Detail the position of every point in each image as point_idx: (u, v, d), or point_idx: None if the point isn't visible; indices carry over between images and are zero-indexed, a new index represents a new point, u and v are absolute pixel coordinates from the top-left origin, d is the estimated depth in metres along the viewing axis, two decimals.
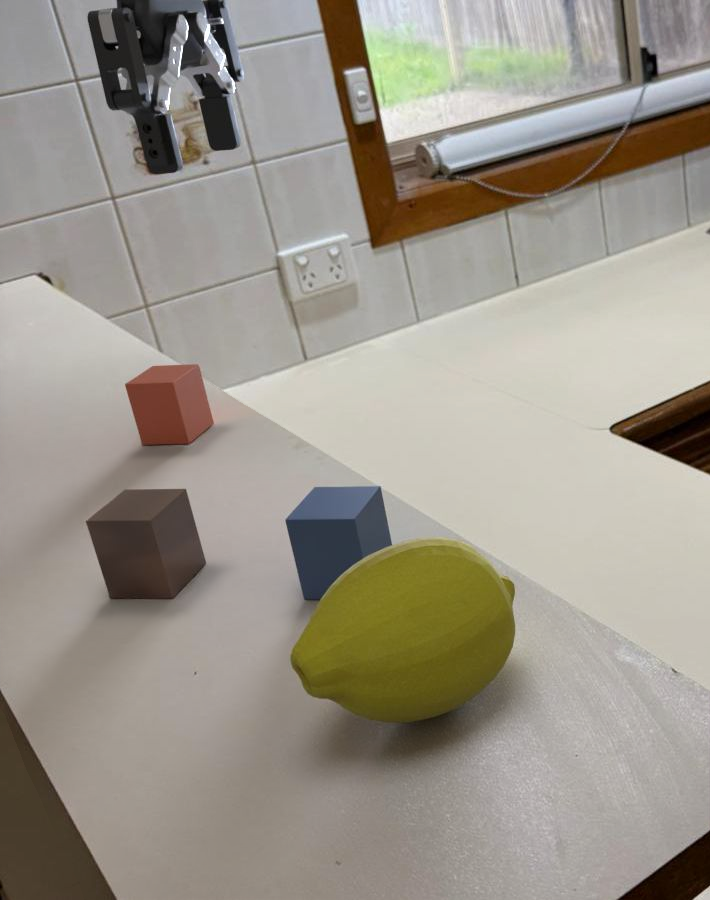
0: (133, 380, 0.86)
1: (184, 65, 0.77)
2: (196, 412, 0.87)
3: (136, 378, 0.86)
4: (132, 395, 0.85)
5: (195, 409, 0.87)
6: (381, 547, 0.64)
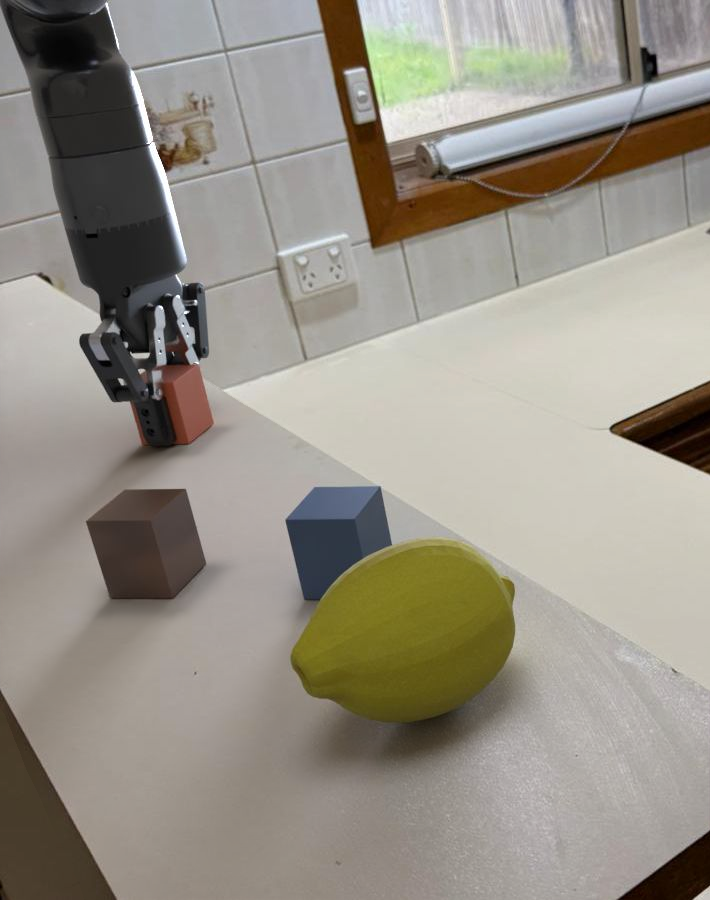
0: None
1: None
2: (196, 412, 0.87)
3: None
4: None
5: (195, 409, 0.87)
6: (381, 547, 0.64)
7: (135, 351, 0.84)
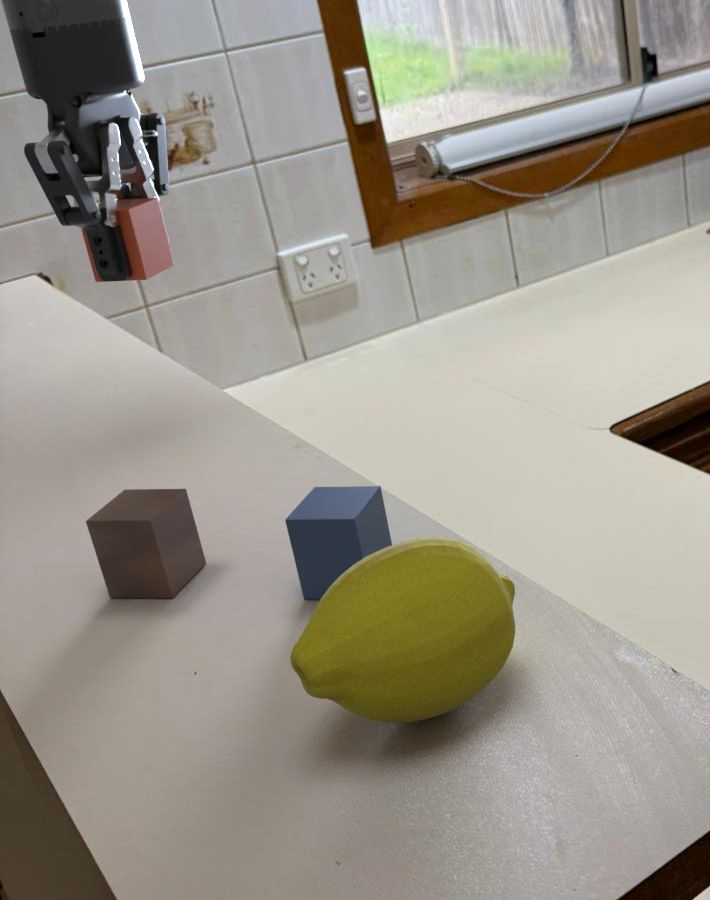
0: None
1: None
2: (154, 248, 0.81)
3: None
4: None
5: (154, 244, 0.81)
6: (381, 547, 0.64)
7: (87, 173, 0.77)
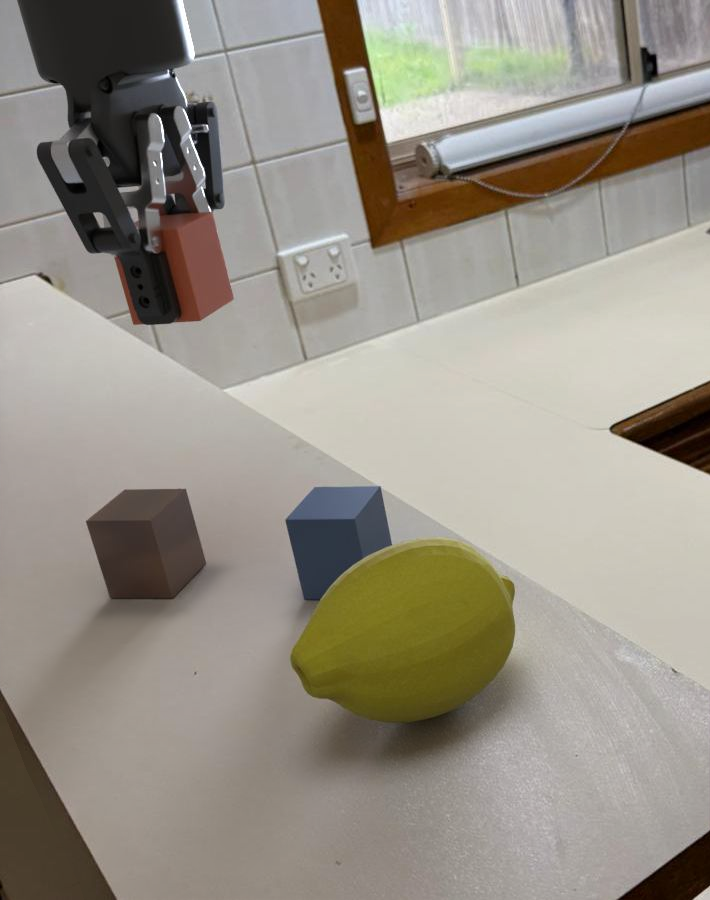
0: None
1: None
2: (209, 279, 0.62)
3: None
4: None
5: (209, 274, 0.62)
6: (381, 547, 0.64)
7: (121, 182, 0.58)
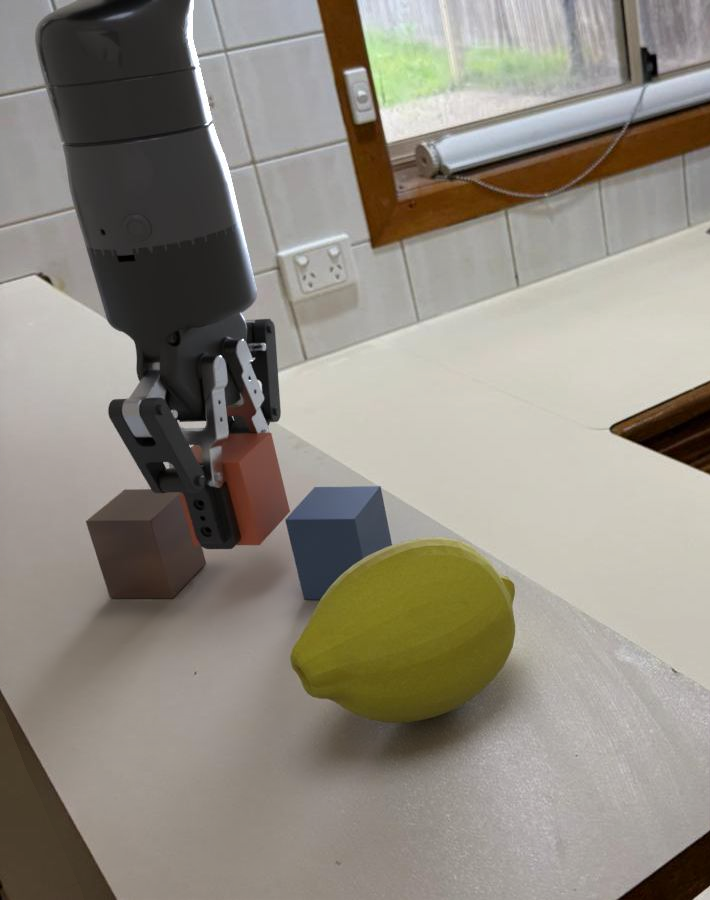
0: None
1: None
2: (268, 500, 0.63)
3: None
4: None
5: (267, 495, 0.63)
6: (381, 547, 0.64)
7: (185, 419, 0.59)
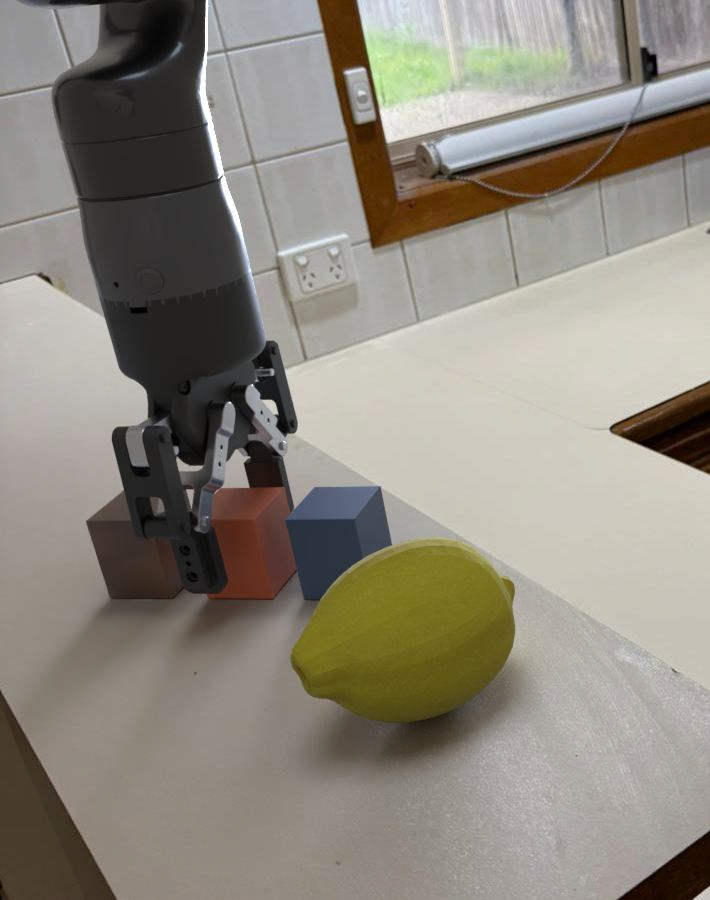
0: None
1: (230, 453, 0.61)
2: (281, 554, 0.64)
3: None
4: None
5: (280, 549, 0.64)
6: (381, 547, 0.64)
7: (194, 464, 0.60)
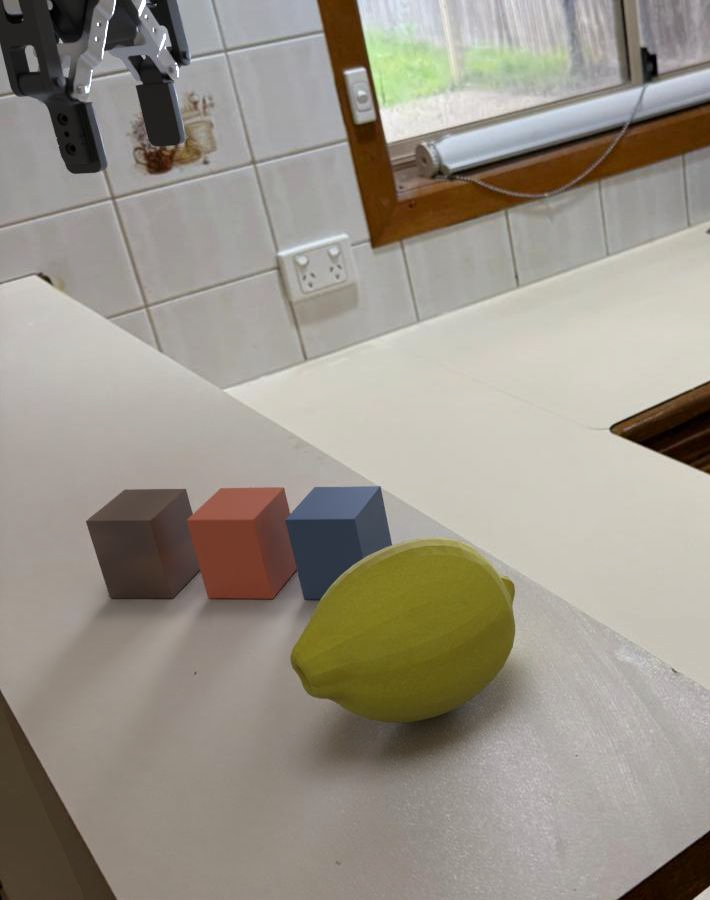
0: (197, 513, 0.63)
1: (112, 44, 0.64)
2: (281, 554, 0.64)
3: (201, 510, 0.63)
4: (196, 534, 0.62)
5: (280, 549, 0.64)
6: (381, 547, 0.64)
7: None
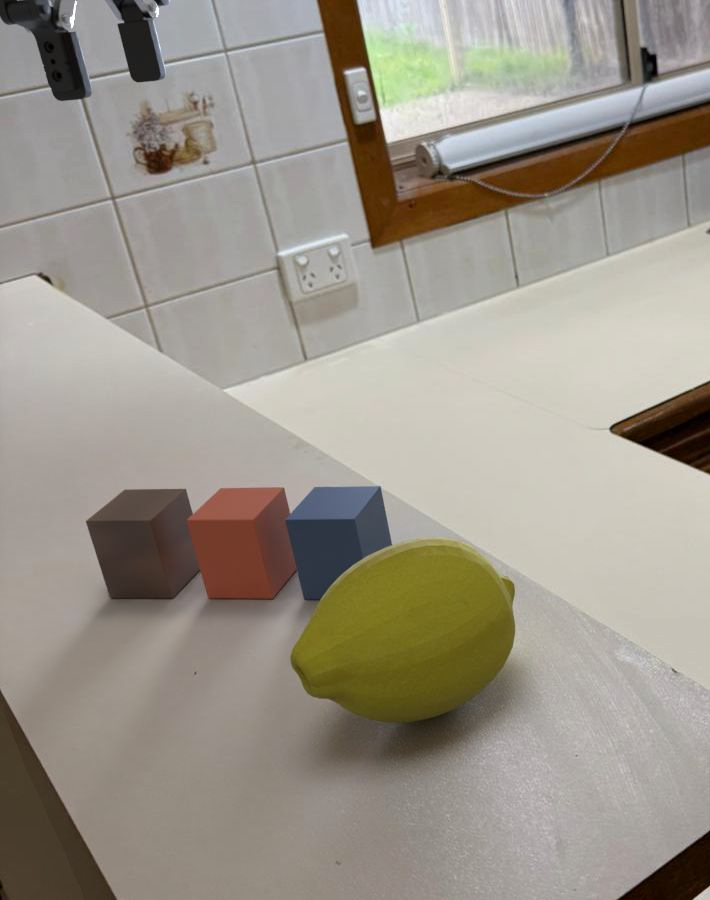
0: (197, 513, 0.63)
1: None
2: (281, 554, 0.64)
3: (201, 510, 0.63)
4: (196, 534, 0.62)
5: (280, 549, 0.64)
6: (381, 547, 0.64)
7: None
